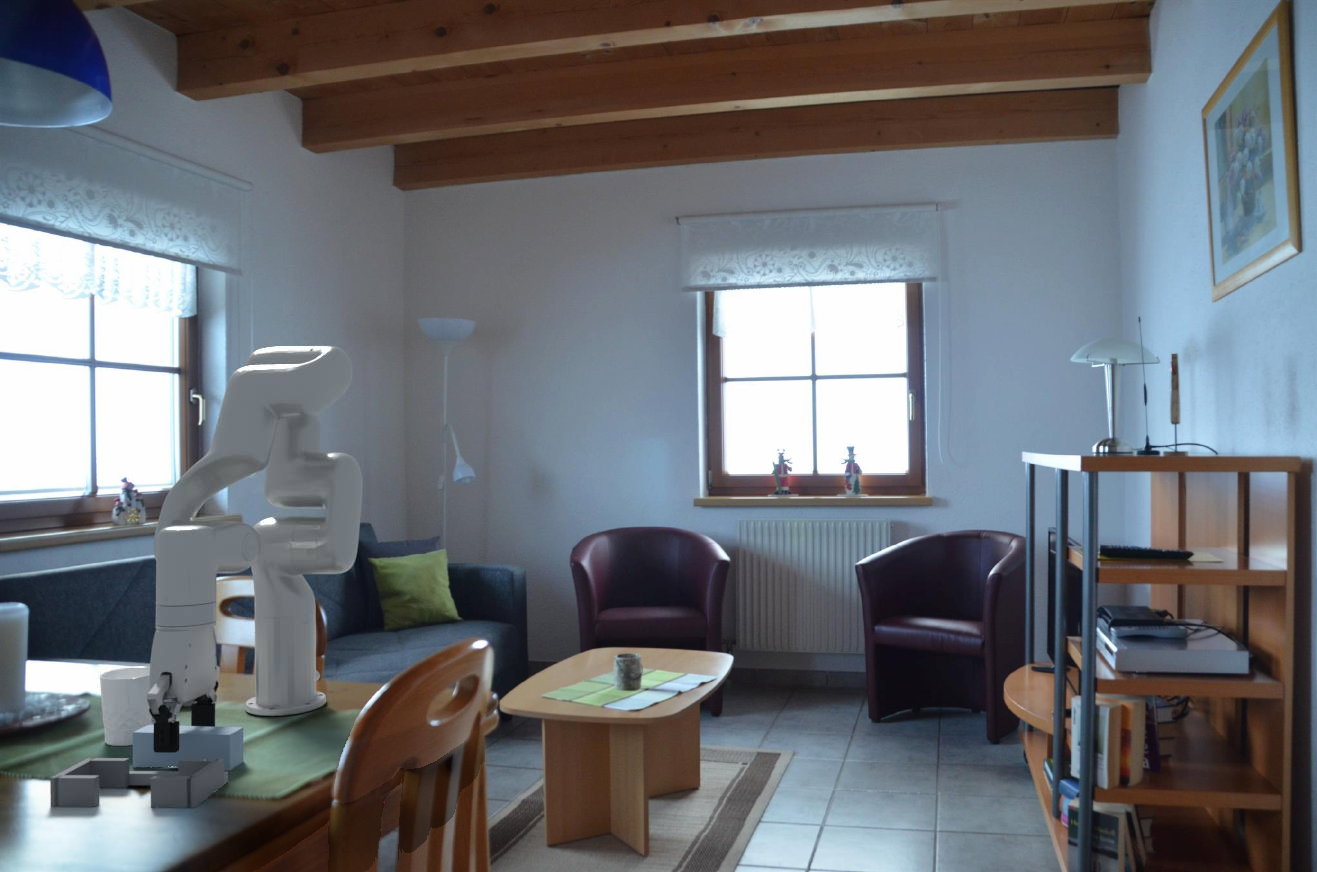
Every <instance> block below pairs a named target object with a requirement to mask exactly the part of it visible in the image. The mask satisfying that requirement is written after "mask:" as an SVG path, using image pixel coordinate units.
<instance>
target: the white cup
mask: <svg viewBox="0 0 1317 872" xmlns="http://www.w3.org/2000/svg"><path fill="white" fill-rule="evenodd" d="M149 674H150V666H130V667H122V668H117V669H112V670H109V671H106V672H103V673H101V674H100V675H99V680H100V699H101V713H102V722H103V723H102V724H103V726H104V728H103V729H104V743H105V744H107V745H108V746H111V747H112V746H114V747H124V746H125V747H127V746H133V732H134V731H136V730H138V729H141V728H143V727H145V726H147V725H154V723H152V720H151V719H152V716H151V714H150V712H149V709H150V707H149V704H148V701H147V695H148V693H149Z"/></svg>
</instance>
